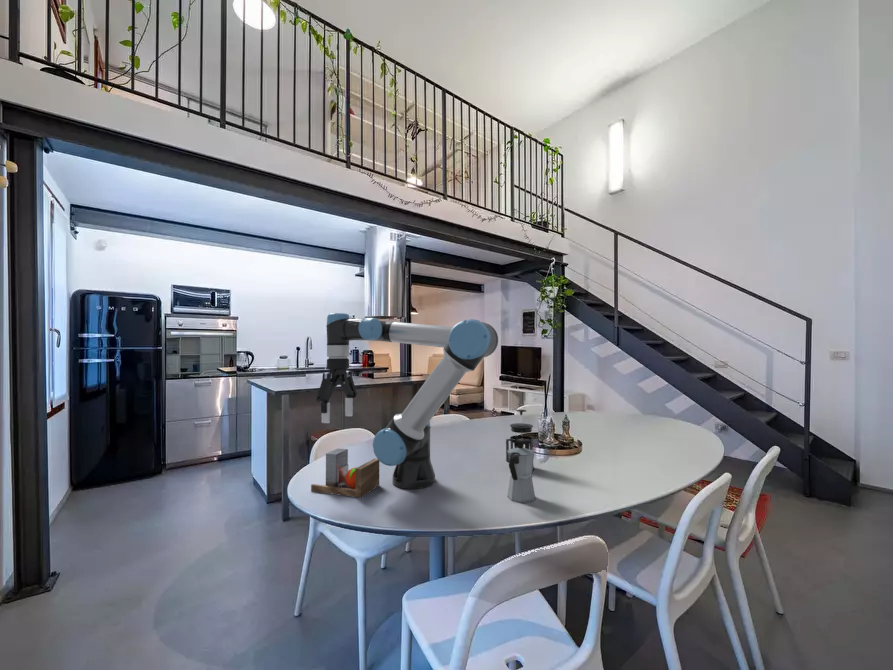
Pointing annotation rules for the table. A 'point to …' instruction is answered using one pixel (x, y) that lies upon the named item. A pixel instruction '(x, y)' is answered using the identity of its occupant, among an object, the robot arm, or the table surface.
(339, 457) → the block
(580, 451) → the table surface
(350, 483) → the clementine
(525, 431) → the french press
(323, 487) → the frame
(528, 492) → the coffee maker
